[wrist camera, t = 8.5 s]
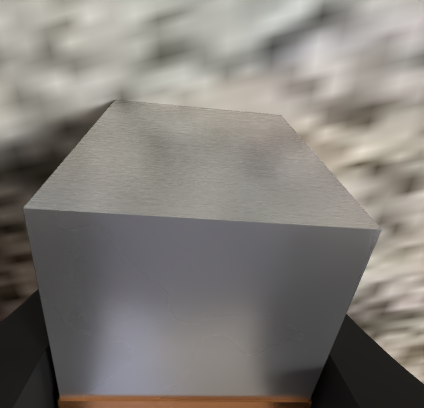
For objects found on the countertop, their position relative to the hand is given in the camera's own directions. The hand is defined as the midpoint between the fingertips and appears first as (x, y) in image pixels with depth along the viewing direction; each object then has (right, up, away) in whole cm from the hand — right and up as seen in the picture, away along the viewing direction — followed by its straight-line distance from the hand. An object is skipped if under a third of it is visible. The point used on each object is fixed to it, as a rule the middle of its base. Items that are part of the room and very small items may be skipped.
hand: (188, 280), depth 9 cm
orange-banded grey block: (0, +1, +1) cm, 1 cm away
